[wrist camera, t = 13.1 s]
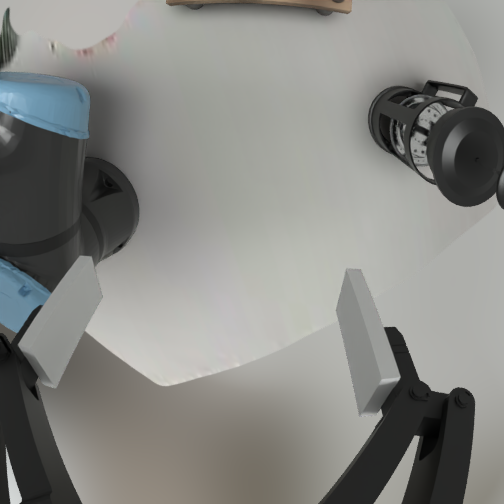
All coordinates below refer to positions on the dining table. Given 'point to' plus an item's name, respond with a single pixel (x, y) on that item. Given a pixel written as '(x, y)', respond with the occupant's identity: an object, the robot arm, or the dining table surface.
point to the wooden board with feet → (324, 3)
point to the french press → (444, 140)
